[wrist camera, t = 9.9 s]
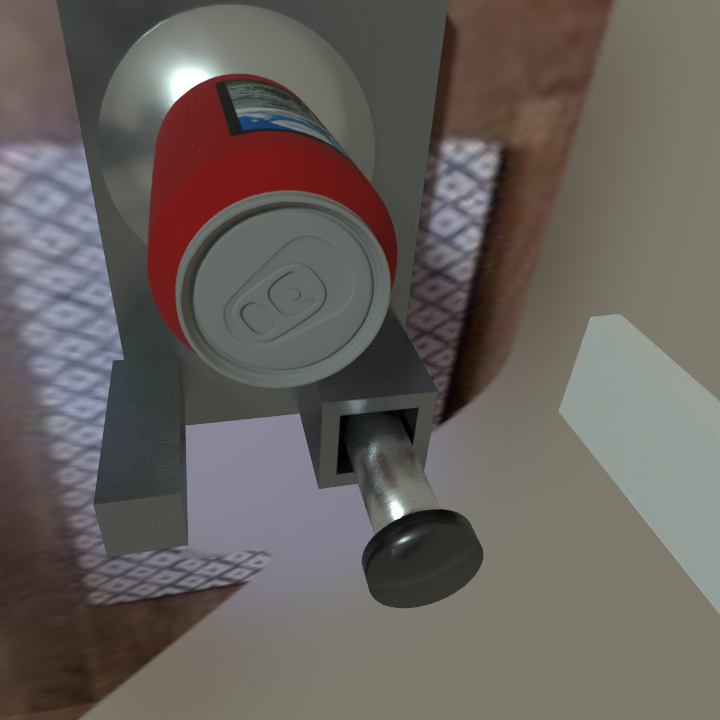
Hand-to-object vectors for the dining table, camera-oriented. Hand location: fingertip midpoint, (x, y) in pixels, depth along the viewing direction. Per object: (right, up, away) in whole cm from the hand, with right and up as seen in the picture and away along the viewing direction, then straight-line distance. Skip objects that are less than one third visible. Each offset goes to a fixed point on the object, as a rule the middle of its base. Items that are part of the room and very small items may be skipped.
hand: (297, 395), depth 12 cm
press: (-3, +7, +16) cm, 18 cm away
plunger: (+2, -2, +17) cm, 17 cm away
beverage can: (-4, +9, +12) cm, 16 cm away
